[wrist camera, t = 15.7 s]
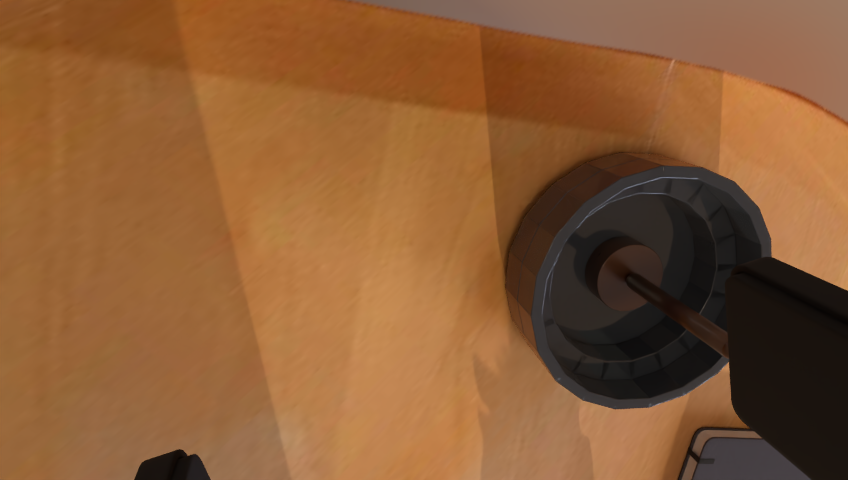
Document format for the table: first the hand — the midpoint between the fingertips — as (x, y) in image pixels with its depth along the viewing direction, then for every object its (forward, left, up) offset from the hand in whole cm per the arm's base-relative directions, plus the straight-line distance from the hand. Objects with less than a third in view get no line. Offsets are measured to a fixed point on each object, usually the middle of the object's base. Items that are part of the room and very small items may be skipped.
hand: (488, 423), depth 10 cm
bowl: (+14, +17, -30) cm, 37 cm away
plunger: (+14, +17, -29) cm, 36 cm away
